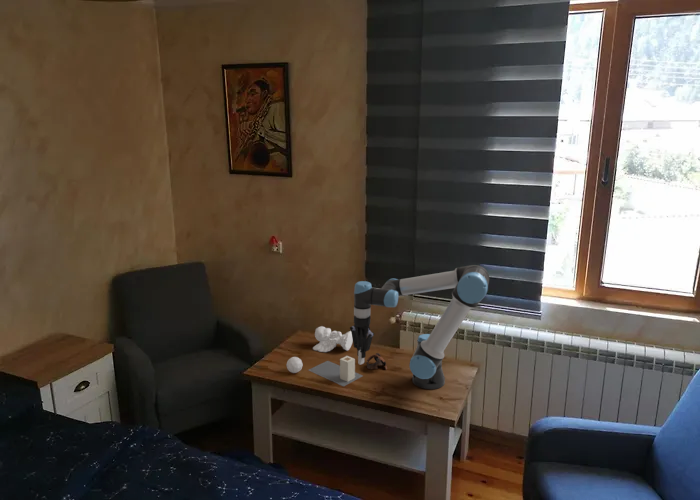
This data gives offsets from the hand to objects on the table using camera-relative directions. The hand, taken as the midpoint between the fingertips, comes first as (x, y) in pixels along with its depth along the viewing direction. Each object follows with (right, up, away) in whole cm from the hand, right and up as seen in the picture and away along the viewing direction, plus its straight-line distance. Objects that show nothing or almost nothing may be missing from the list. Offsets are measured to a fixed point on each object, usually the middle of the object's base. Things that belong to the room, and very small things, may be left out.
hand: (361, 363), depth 250 cm
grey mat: (-12, -8, +14) cm, 20 cm away
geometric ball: (-32, -8, +16) cm, 37 cm away
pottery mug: (+8, -7, +20) cm, 22 cm away
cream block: (-6, -9, +8) cm, 14 cm away
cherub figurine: (-15, -1, +41) cm, 44 cm away
